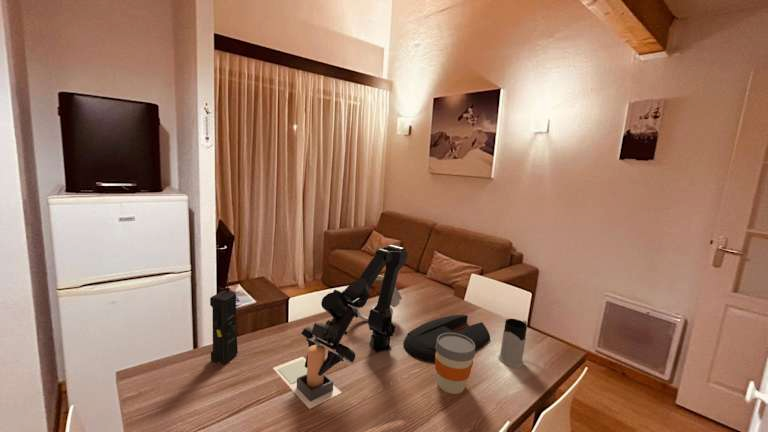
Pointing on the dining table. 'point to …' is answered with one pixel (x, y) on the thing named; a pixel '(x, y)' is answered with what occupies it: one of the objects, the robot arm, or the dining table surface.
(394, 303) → the headphones
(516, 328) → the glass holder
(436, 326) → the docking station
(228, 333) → the portable radio
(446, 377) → the reusable coffee cup
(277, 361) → the dining table surface
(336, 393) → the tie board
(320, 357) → the tall peach cylinder
